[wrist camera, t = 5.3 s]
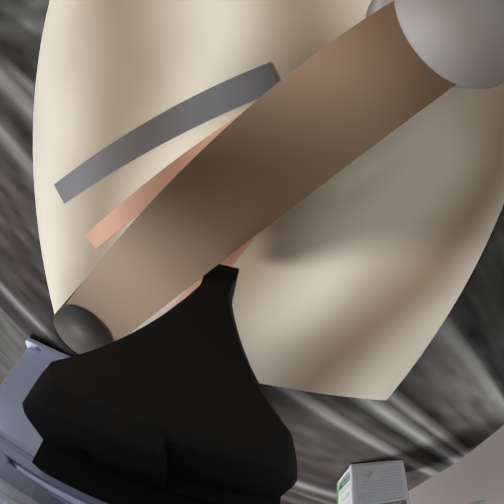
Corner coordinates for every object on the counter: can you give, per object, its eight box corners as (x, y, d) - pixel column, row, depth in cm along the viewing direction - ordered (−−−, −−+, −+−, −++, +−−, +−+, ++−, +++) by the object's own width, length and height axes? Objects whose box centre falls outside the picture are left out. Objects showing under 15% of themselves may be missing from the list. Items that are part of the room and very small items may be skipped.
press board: (68, 307, 17) (55, 323, 16) (84, -46, 7) (65, -54, 6) (382, 381, 17) (386, 401, 16) (521, 47, 7) (542, 47, 6)
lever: (417, -28, 6) (457, -60, 3) (480, 57, 7) (537, 56, 4) (75, 276, 13) (38, 317, 10) (129, 326, 14) (102, 374, 11)
